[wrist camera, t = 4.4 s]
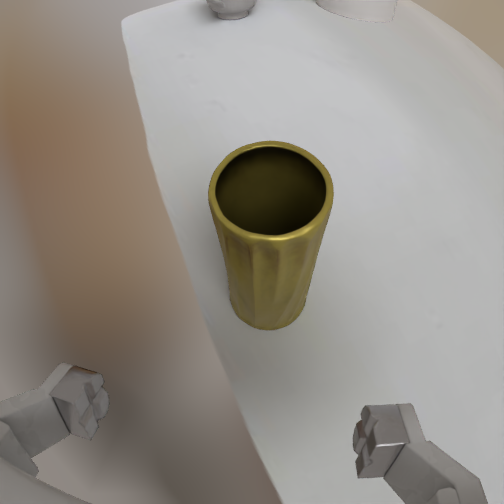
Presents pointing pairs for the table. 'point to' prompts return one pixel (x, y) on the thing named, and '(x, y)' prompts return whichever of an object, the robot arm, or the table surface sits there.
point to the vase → (270, 227)
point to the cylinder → (362, 9)
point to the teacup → (231, 8)
